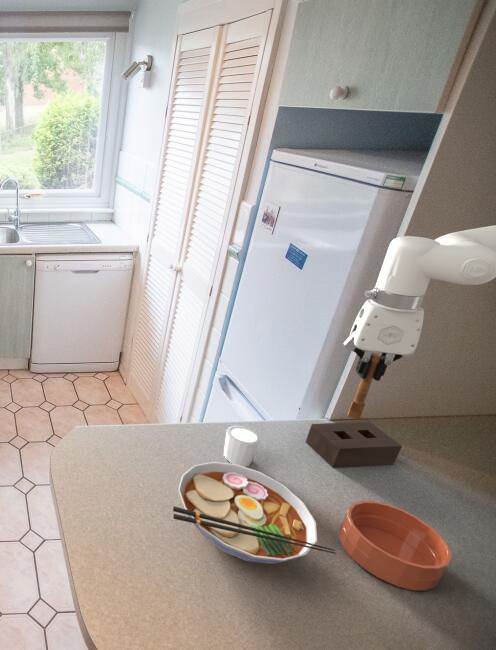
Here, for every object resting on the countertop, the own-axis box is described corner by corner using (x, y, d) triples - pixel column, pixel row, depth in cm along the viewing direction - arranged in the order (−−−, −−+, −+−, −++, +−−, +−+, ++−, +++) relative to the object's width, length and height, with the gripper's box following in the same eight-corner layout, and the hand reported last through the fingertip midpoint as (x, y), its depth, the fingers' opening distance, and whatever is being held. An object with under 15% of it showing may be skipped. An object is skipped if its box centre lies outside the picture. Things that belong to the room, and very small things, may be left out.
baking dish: (414, 536, 86) (426, 512, 84) (455, 604, 74) (470, 579, 72) (328, 515, 91) (337, 492, 88) (353, 577, 79) (364, 552, 76)
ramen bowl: (295, 506, 93) (306, 475, 90) (331, 611, 73) (347, 577, 70) (165, 476, 101) (171, 446, 98) (166, 564, 81) (174, 531, 78)
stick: (358, 416, 103) (381, 354, 97) (360, 420, 101) (383, 357, 95) (346, 413, 104) (368, 352, 98) (348, 418, 102) (370, 355, 96)
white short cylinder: (224, 466, 104) (230, 441, 101) (217, 446, 110) (223, 423, 107) (257, 471, 102) (264, 446, 99) (248, 451, 108) (255, 427, 105)
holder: (305, 442, 111) (311, 423, 109) (362, 439, 112) (369, 421, 110) (332, 467, 103) (340, 448, 101) (393, 464, 104) (402, 445, 101)
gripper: (355, 300, 91) (330, 379, 98) (456, 310, 86) (421, 392, 93) (343, 288, 97) (319, 362, 104) (435, 296, 92) (404, 374, 99)
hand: (367, 376), depth 99 cm, fingers closed on stick, 1 cm apart
